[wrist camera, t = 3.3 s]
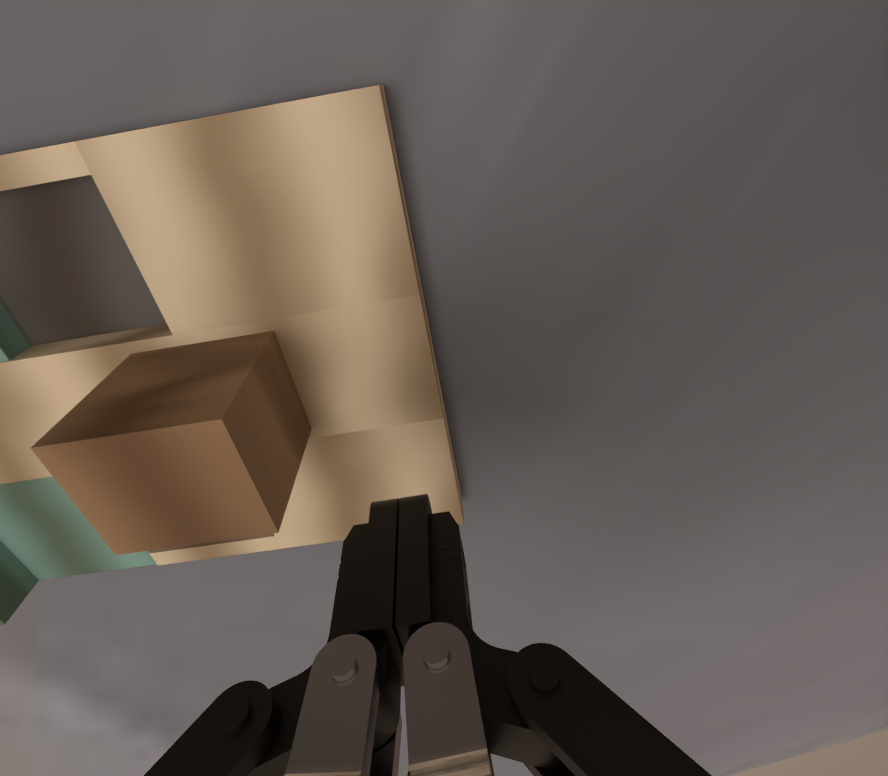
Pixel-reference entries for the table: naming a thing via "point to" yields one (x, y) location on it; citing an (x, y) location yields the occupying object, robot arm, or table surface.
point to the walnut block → (183, 445)
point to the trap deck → (219, 310)
